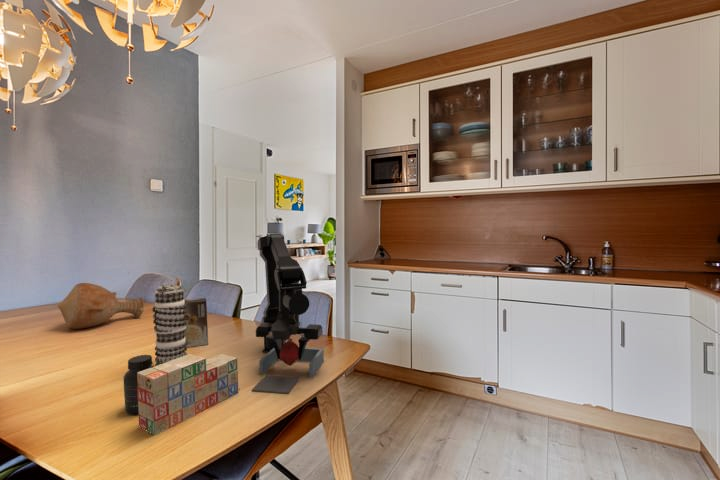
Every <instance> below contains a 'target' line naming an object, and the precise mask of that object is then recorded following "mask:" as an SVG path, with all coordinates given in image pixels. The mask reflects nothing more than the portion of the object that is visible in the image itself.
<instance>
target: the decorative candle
mask: <svg viewBox="0 0 720 480" xmlns="http://www.w3.org/2000/svg"><path fill="white" fill-rule="evenodd" d="M185 290H186V289H184V288H182V286H181V285H179V284H173V283H172V284H165V285H160V286H158V288H157V289H156V290H155V291H154V292H153V293H154V294H155V295H154V297H155V300H154V301H155V302H154V306H153V307H152V310H151V311H152V312H153V313H154V314H152V318H153V320H152V321H153V322H152V323H153V324H154V325H155V326H154V327H153V330H154V333H155V334H156V338H155V339H156V341H155V347H154V350H155V352H154V355H155V358H154V361H155V364H154V365H155V366H158V365H160V364H163V363H166V362H168V361H171V360H174V359H177V358H180V357H182V356H185V355H188V353H187V350H188V347H187V348H186V347H185V346H186V345H187V343H186V342H185V335H184V334H185V331H184V329H186V326H185V325H186V324H187V323H186V322H184V321H185V320H186V319H187V318H186V317H184V314H186V313H187V311H185V310H184V309H186V308H187V306H185V305H184V304H185V300H186V299H185V298H184V291H185ZM155 366H154V367H155Z"/></svg>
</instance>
